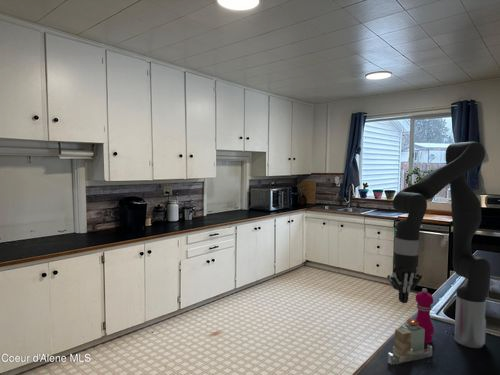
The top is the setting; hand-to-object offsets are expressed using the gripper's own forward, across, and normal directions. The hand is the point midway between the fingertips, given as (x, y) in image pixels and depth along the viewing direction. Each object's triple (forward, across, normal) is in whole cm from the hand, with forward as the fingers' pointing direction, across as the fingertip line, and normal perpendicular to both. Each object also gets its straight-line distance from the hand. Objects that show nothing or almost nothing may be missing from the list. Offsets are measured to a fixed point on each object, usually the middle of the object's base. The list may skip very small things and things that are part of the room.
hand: (403, 302), depth 115 cm
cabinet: (+20, -10, -4) cm, 23 cm away
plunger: (+15, -10, -5) cm, 19 cm away
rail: (+20, -4, +1) cm, 20 cm away
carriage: (+19, 0, +1) cm, 19 cm away
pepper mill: (+20, -19, -9) cm, 28 cm away
